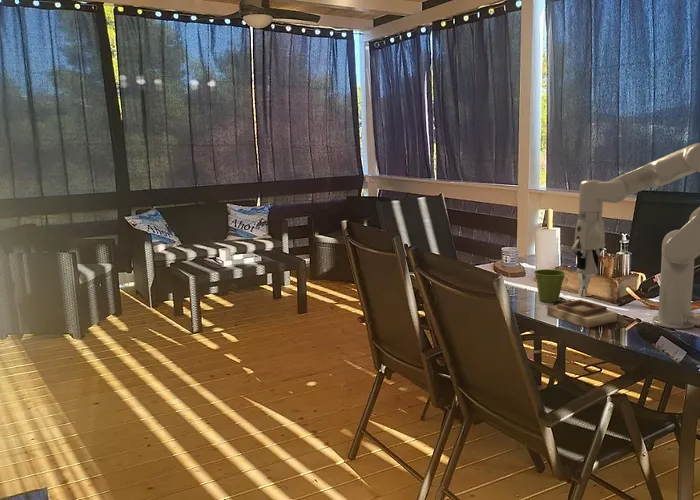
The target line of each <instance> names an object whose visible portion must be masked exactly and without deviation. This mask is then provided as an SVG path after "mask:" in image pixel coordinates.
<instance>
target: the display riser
mask: <svg viewBox="0 0 700 500" xmlns="http://www.w3.org/2000/svg"><path fill="white" fill-rule="evenodd" d="M546 312H547V313H546V315H547V316H549V317H552V318H555V319H559V320H562V321H565V322H568V323H571V324H574V325H578V326H581V327H584V328H586V329H588V328H593V327H597V326H598V327H599V326H601V325H605V324H610V323H615V322H617V321H618V320H617V319H618V312H616V311H612V310H609V309H607V306H605V305H601V304H598V303H593V302H590V301H587V300H583V299H576V300H571V301H567V302H562V303H558V304H554V305H551V306H547V311H546Z"/></svg>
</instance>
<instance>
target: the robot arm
mask: <svg viewBox="0 0 700 500" xmlns="http://www.w3.org/2000/svg"><path fill="white" fill-rule="evenodd" d="M696 172H697V173H700V142H696V143H693V144H690V145H688V146H685V147H683V148H681V149H678V150H676V151H673V152H671V153H669V154H667V155H664V156H662V157H660V158H657V159H655V160H652V161H651V162H649V163H647V164H645V165H642V166H640V167H638V168H636V169H634V170H633V169H632V170H631V171H628V172H626V173H623V174H622V175H619V176H617V177H615V178H612V179H611V180H608V181H602V180H598V179H586V180H585V179H584V180H581V182H580V185H579V197H578V198H579V199H578V200H579V201H578V214H577V221H576V227H575V231H574V232H575V233H574V243H573V245H572V246H571V248H570V249H571V251H573V253H574V255H575V257H576V259H577V260H576V261H577V262H576V263H577V264H576V268H579V269H583V270H584V269H585V265H586V258H584V257H585V254H586V250H592V252H593V258H594V261H595V264H596V267H597V268H599V259H600V258H599V257H600V256H601V252H602V251H603V249H604V248H605V247H606V243H605V241H606V237H605V236H606V233H605V232H606V231H605V223H604V220H603V206H604V205H603V203H605V202H606V203H612V204H618V203H619V204H620V203H621V202H623V201H624V200H626V199H627V197H628V196H631V195H634V194H637V193H639V192H641V191H645V190H647V189H650V188H657V187H663V186H664V185H668V184H670V183H672V182H675V181H677V180H679V179H682V178H684V177H687V176H690V175H692V174H695V173H696ZM699 256H700V206H699V207H697V208H696V209H695V210H694V211H692V213H691V214H690V215H689V220H688V221H687V222H686V223H685V224H684V225H683V226H682V227H681V228H680V229H674V230H670V231H669V232H668V233H666V235H665V236H664V237H663V240H662V242H661V264H660V265H661V267H660V279H659V280H660V281H659V296H658V311H657V313H658V314H657V315H655V316H653V317H652V323H653V324H655V325H657V326H659V327H663V328H668V329H678V330H682V329H683V330H685V329H686V330H687V329H691V328H694V327H695V326H697V327H698V326H700V318H698V317H695V313H694V312H692V311H691V310H692V298H693V286H694V285H693V284H694V283H693V282H694V273H695V272H694V271H695V259H697V258H698V257H699Z"/></svg>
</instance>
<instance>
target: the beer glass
mask: <svg viewBox="0 0 700 500" xmlns="http://www.w3.org/2000/svg"><path fill="white" fill-rule="evenodd" d="M594 275H597V274H579V273H577V278H578V290H577V291H578V292H577V295H578V294H579V295H582V296H581V297H584V296H585V295H586V294H587V288H588V284H589V282H590V278H591V276H594ZM579 295H578V296H579Z"/></svg>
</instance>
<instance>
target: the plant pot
mask: <svg viewBox="0 0 700 500" xmlns="http://www.w3.org/2000/svg"><path fill="white" fill-rule="evenodd" d="M533 273H534V274H535V279H536V280H535V281H536V285H537V293H538V299H539V301H541V302H544V303H556V302H559V300H560V294H561V290H562V285H563V281H564V278H565V275H567V273H566V272H565V271H562V270H560V269H550V268H549V269H545V268H544V269H535V270H534V271H533Z"/></svg>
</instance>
